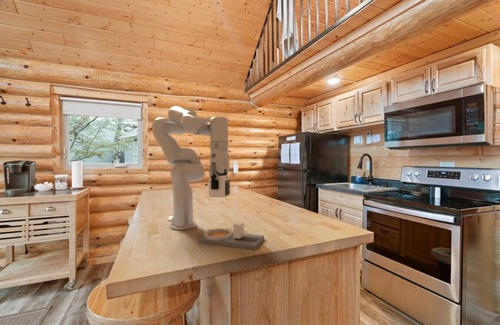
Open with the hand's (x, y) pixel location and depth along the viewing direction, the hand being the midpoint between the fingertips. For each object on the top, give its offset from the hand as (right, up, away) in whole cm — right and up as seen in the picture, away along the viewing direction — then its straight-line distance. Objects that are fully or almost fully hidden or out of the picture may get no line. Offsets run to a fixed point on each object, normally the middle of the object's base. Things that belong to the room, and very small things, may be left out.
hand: (219, 187), depth 100 cm
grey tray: (+6, -22, -3) cm, 23 cm away
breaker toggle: (+8, -20, -4) cm, 22 cm away
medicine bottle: (0, -4, 0) cm, 4 cm away
